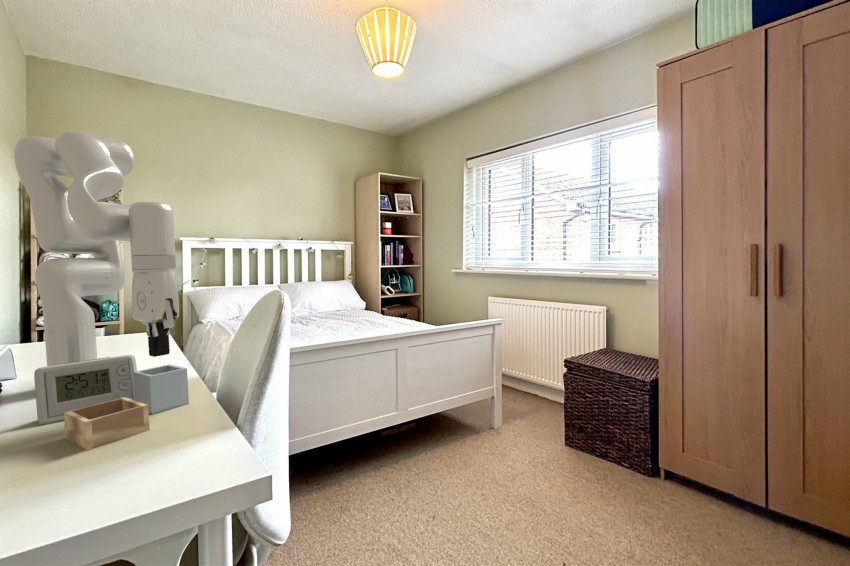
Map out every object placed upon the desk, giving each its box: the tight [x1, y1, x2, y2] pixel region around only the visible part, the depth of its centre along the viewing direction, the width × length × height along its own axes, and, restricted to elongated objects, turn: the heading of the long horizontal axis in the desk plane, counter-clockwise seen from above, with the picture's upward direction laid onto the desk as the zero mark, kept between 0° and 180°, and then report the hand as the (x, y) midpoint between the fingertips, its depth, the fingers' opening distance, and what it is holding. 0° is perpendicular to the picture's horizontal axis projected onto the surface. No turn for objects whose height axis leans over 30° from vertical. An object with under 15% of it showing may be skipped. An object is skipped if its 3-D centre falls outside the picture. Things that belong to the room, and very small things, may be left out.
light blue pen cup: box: [133, 364, 190, 415], centre depth 86 cm, size 7×7×8 cm
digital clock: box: [33, 354, 138, 425], centre depth 84 cm, size 16×9×11 cm, turn 123°
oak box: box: [63, 397, 151, 451], centre depth 72 cm, size 9×9×5 cm
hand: (159, 354), depth 86 cm, fingers closed
